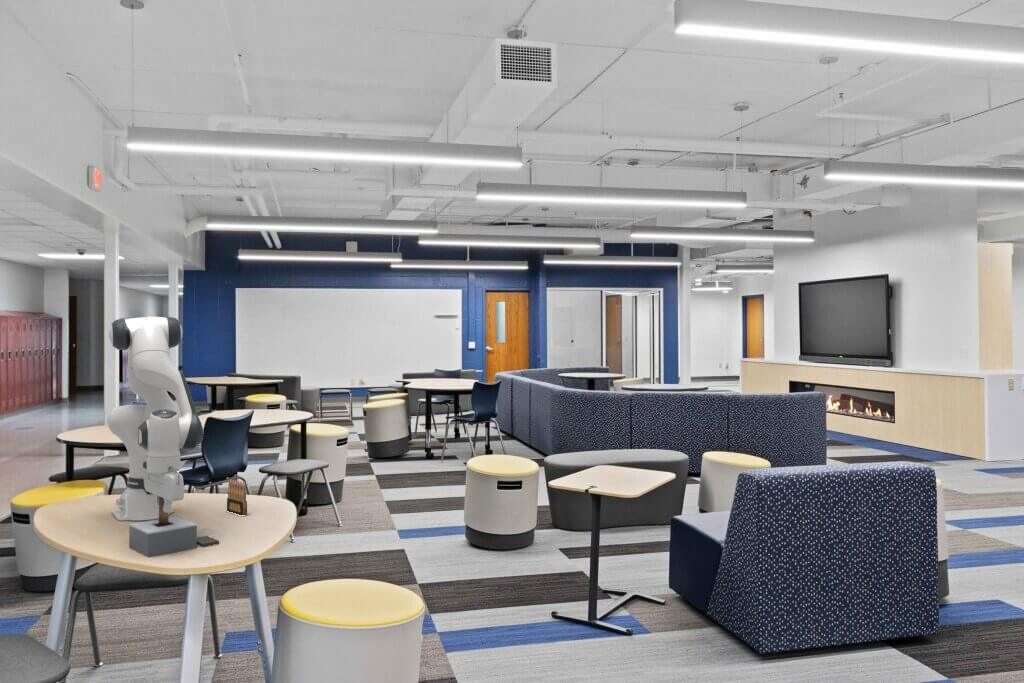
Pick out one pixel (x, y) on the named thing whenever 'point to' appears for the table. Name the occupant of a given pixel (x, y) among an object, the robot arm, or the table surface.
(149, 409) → the robot arm
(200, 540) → the rubber pad
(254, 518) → the table surface
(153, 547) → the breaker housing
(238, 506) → the ammunition clip
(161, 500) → the brown rounded rod
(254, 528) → the table surface
